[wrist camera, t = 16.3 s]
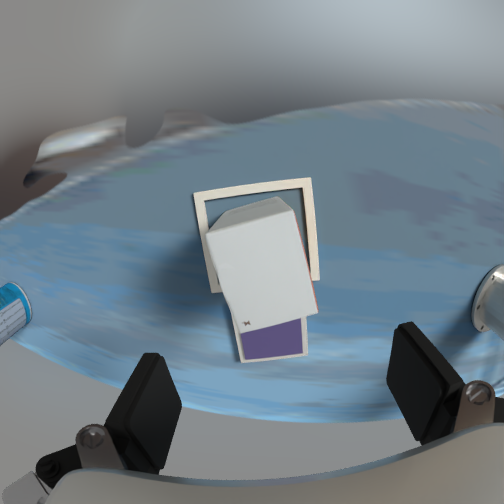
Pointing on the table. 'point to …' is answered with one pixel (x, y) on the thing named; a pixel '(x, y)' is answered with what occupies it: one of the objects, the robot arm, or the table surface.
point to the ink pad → (273, 341)
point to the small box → (262, 265)
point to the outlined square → (256, 188)
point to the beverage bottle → (13, 310)
